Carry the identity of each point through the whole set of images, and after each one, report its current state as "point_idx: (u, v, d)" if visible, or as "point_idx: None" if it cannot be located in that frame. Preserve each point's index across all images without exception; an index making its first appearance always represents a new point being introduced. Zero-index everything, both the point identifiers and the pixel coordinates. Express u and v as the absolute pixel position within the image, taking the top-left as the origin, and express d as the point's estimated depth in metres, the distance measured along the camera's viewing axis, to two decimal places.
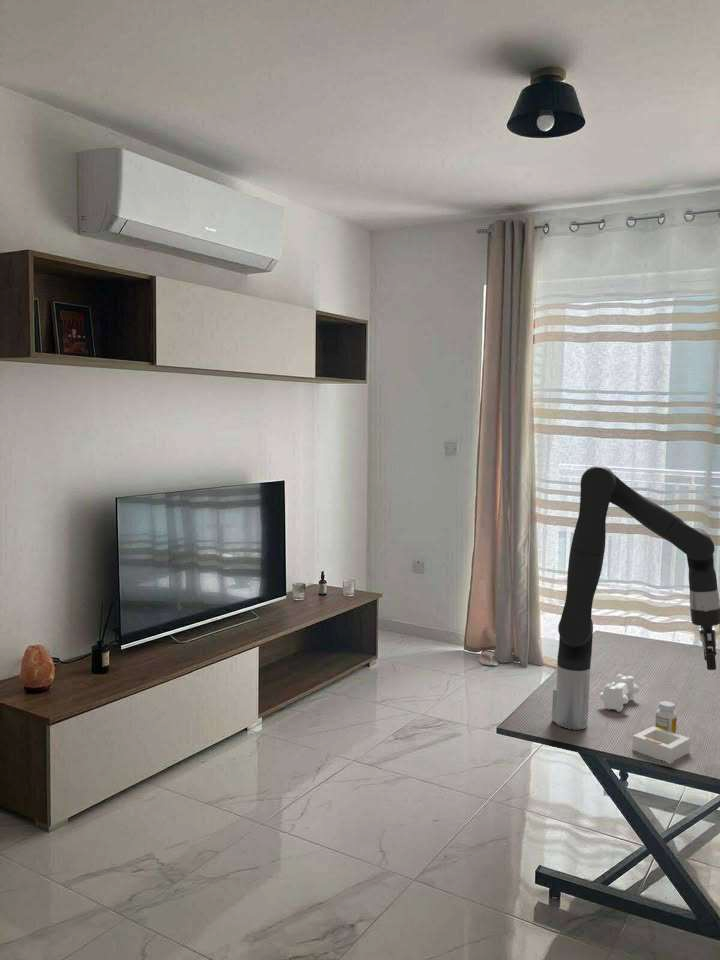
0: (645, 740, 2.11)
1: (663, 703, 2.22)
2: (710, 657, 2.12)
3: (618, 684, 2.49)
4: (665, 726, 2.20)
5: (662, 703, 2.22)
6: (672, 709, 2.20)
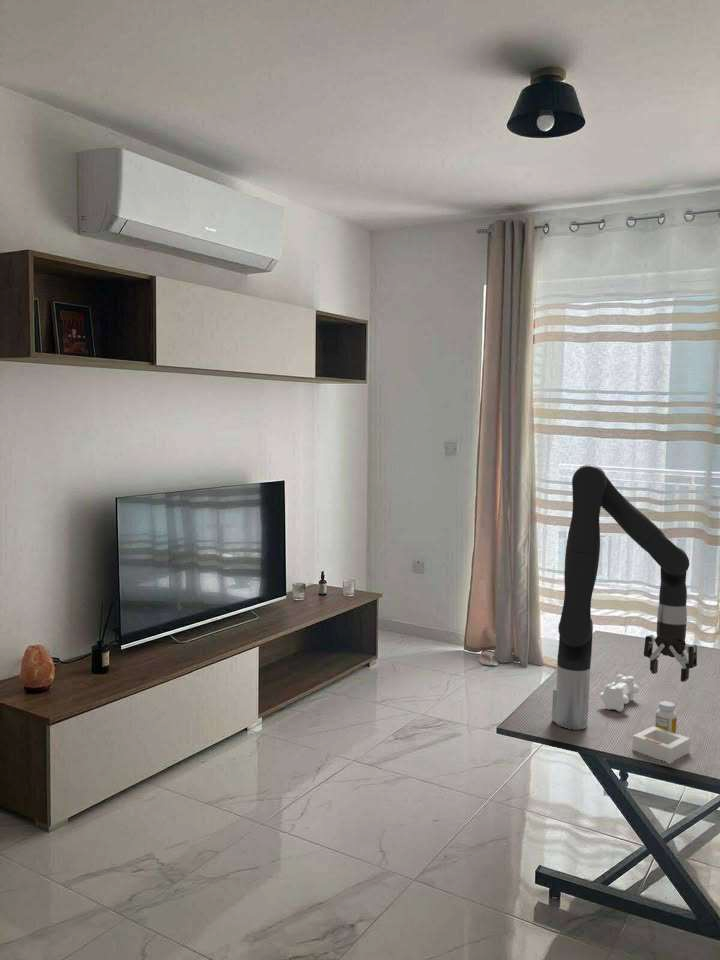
0: (645, 740, 2.11)
1: (663, 703, 2.22)
2: (687, 669, 2.17)
3: (618, 684, 2.49)
4: (665, 726, 2.20)
5: (662, 703, 2.22)
6: (672, 709, 2.20)
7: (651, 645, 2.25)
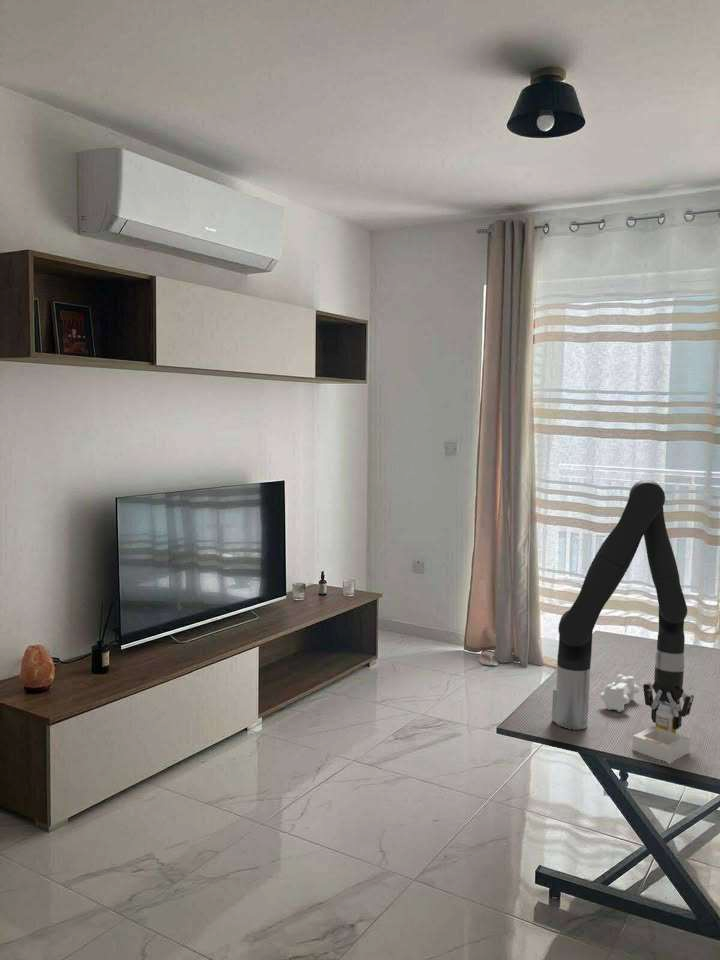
0: (645, 740, 2.11)
1: (663, 703, 2.22)
2: (680, 717, 2.19)
3: (619, 684, 2.49)
4: (665, 725, 2.20)
5: (662, 703, 2.22)
6: (672, 709, 2.20)
7: (650, 693, 2.26)
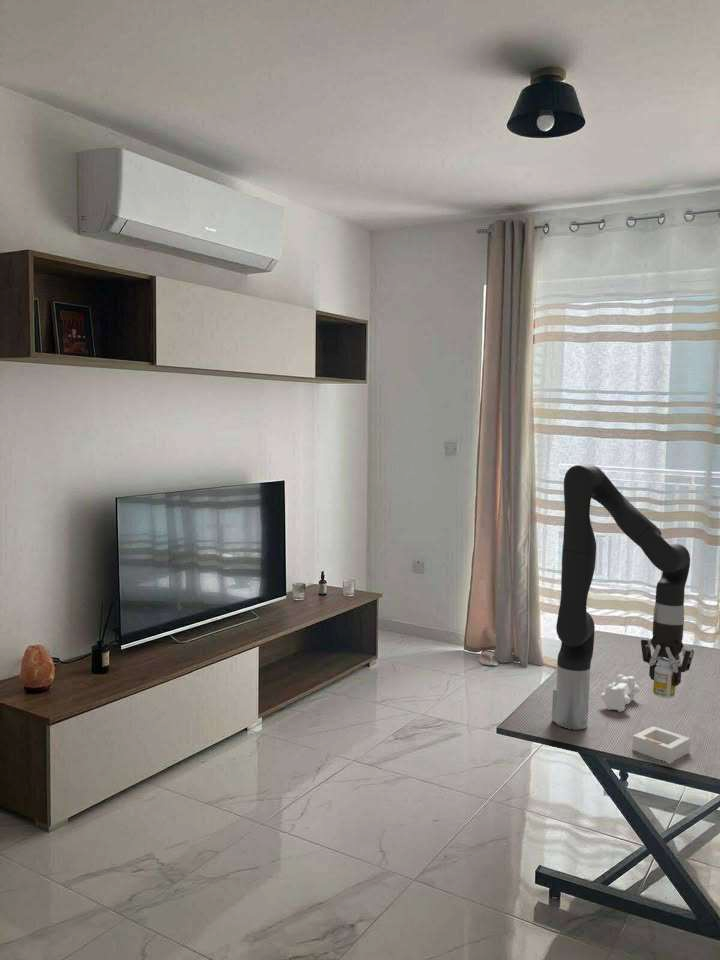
0: (645, 740, 2.11)
1: (662, 659, 2.11)
2: (679, 673, 2.08)
3: (619, 684, 2.49)
4: (664, 682, 2.09)
5: (661, 659, 2.11)
6: (671, 665, 2.10)
7: (648, 649, 2.15)
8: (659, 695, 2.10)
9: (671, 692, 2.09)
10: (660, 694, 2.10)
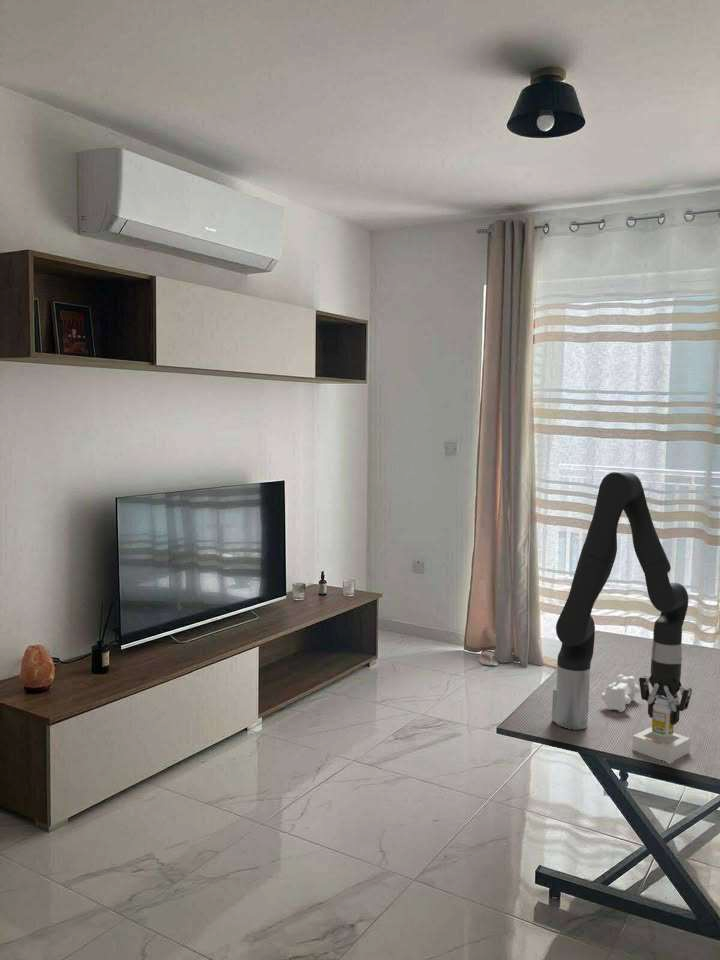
0: (645, 740, 2.11)
1: (660, 697, 2.12)
2: (678, 711, 2.09)
3: (619, 684, 2.49)
4: (662, 721, 2.10)
5: (659, 697, 2.12)
6: (669, 703, 2.10)
7: (647, 687, 2.16)
8: (658, 733, 2.11)
9: (670, 730, 2.10)
10: (658, 733, 2.11)
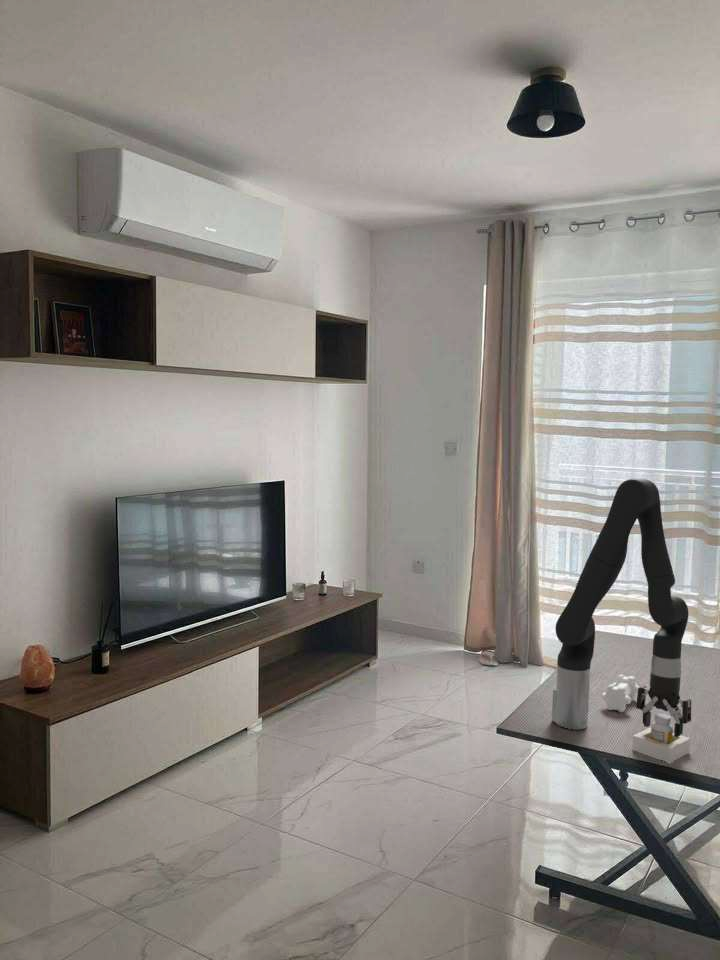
0: (645, 740, 2.11)
1: (659, 716, 2.13)
2: (681, 724, 2.08)
3: (620, 684, 2.48)
4: (661, 739, 2.10)
5: (657, 716, 2.13)
6: (668, 722, 2.11)
7: (644, 697, 2.17)
8: None
9: None
10: None
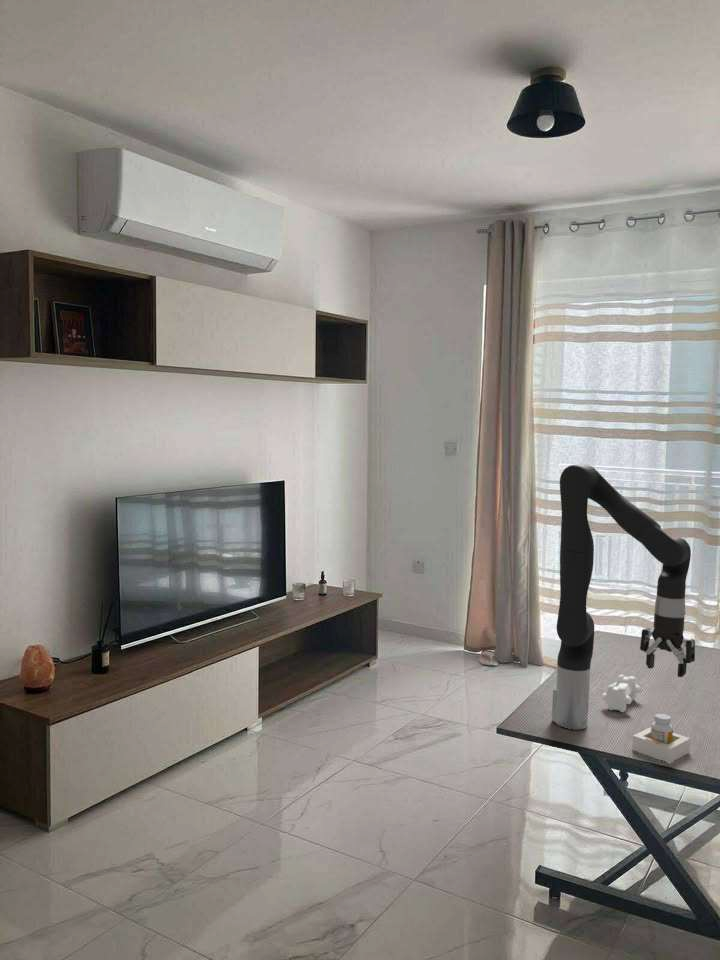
0: (645, 740, 2.11)
1: (659, 716, 2.13)
2: (685, 664, 2.09)
3: (620, 684, 2.48)
4: (661, 739, 2.10)
5: (658, 716, 2.13)
6: (668, 722, 2.11)
7: (648, 639, 2.17)
8: None
9: None
10: None
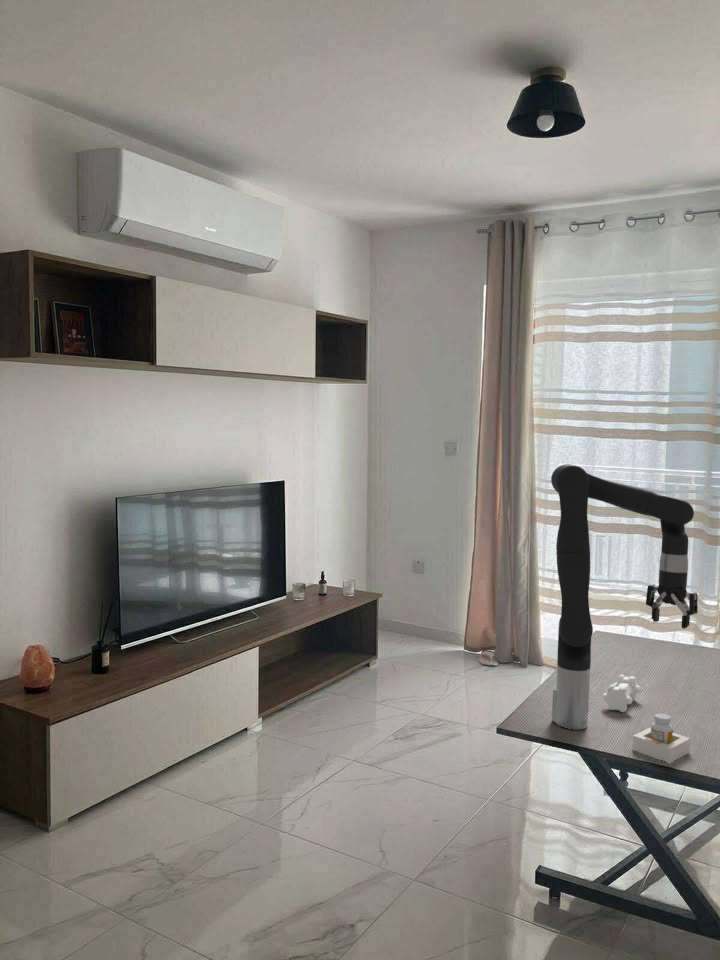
0: (645, 740, 2.11)
1: (658, 716, 2.13)
2: (688, 616, 2.24)
3: (621, 685, 2.48)
4: (660, 739, 2.10)
5: (657, 716, 2.13)
6: (668, 722, 2.11)
7: (653, 594, 2.32)
8: None
9: None
10: None
